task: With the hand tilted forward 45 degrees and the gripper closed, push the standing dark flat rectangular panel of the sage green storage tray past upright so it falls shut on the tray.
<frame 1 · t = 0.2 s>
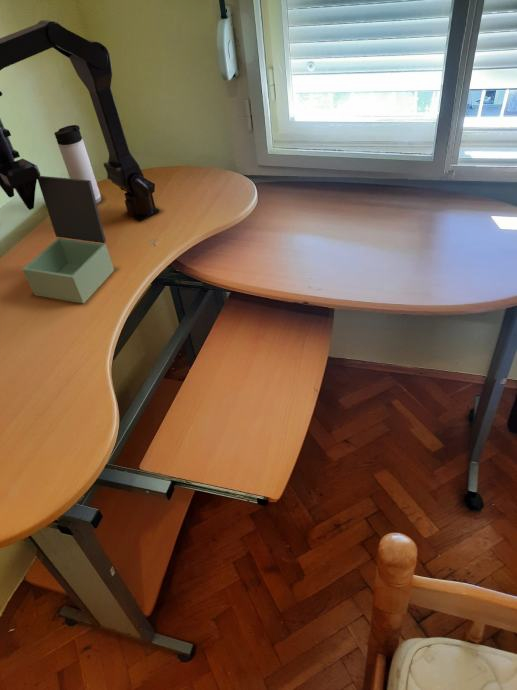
hand: (21, 202, 99), 15 cm above the table, tool pointing down, fingers open, 9 cm apart
sage green storage tray: (75, 282, 102), on the table
dark flat rectangular panel: (72, 210, 97), point 14 cm above the table, hinge at 96.0°
travel mug: (91, 201, 130), on the table
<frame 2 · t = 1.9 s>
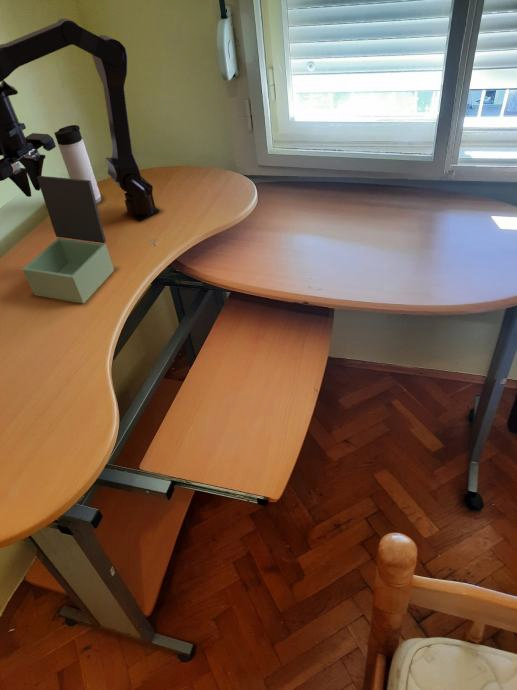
hand: (33, 193, 106), 13 cm above the table, tool pointing down, fingers open, 3 cm apart
nothing on the table moved.
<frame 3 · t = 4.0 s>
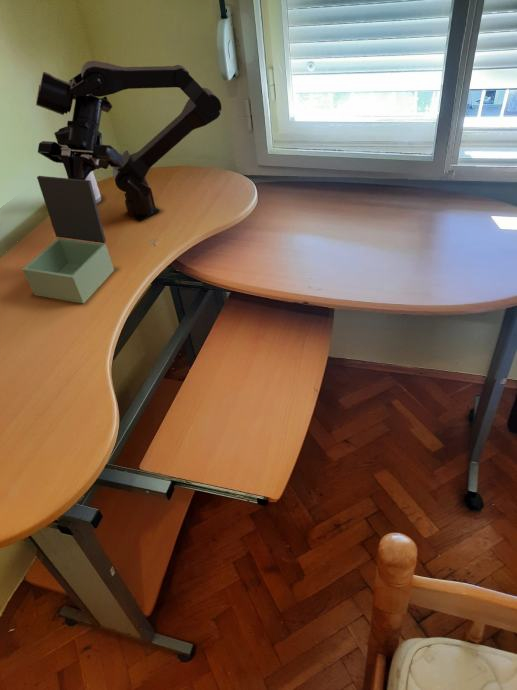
hand: (74, 192, 104), 14 cm above the table, tool tilted 45°, fingers closed
nothing on the table moved.
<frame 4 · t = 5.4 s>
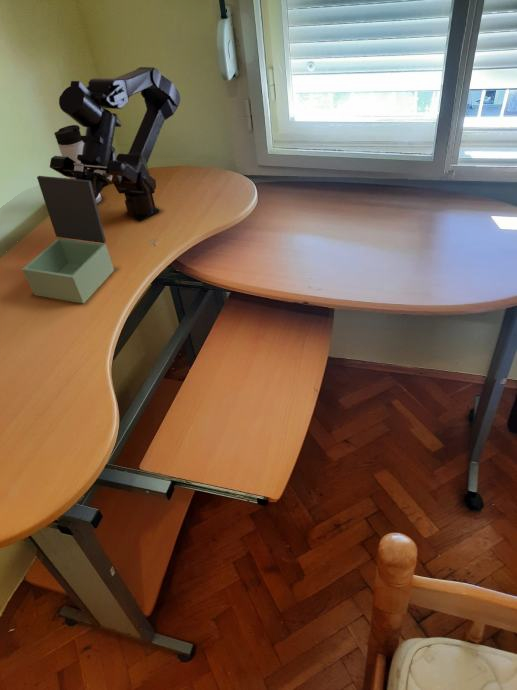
hand: (87, 208, 101), 12 cm above the table, tool tilted 45°, fingers closed
nothing on the table moved.
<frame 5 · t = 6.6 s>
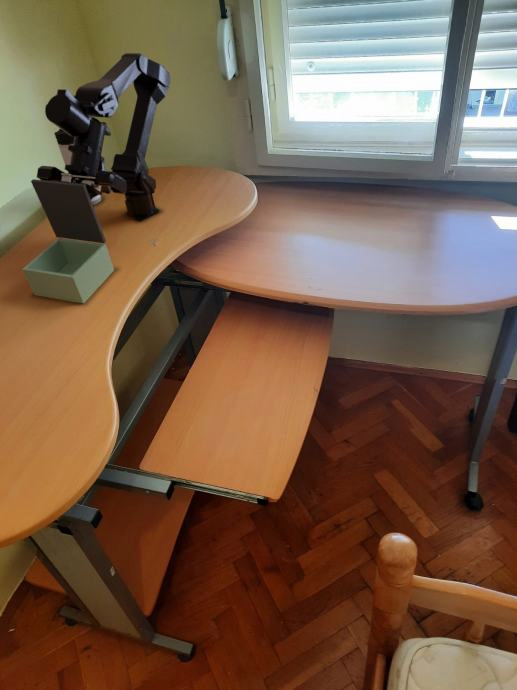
hand: (75, 219, 98), 12 cm above the table, tool tilted 45°, fingers closed, pressing on dark flat rectangular panel
dark flat rectangular panel: (69, 212, 96), point 14 cm above the table, hinge at 87.5°, touching gripper
everything else where it was.
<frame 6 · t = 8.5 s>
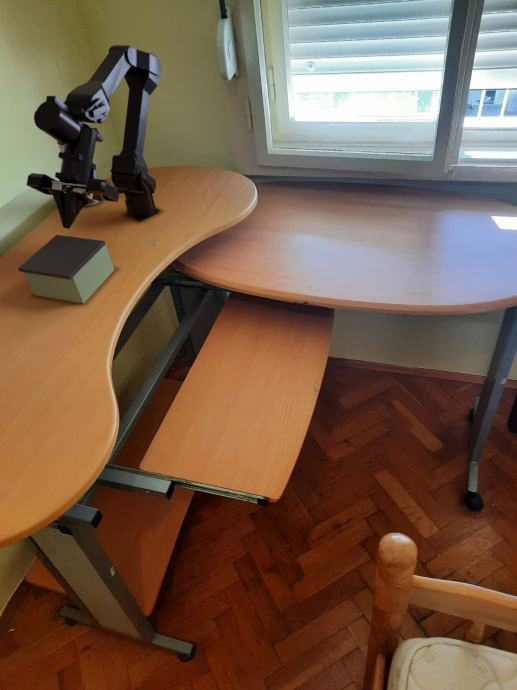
hand: (66, 228, 96), 11 cm above the table, tool tilted 45°, fingers closed
dark flat rectangular panel: (63, 255, 97), point 7 cm above the table, hinge at -0.2°
everything else where it was.
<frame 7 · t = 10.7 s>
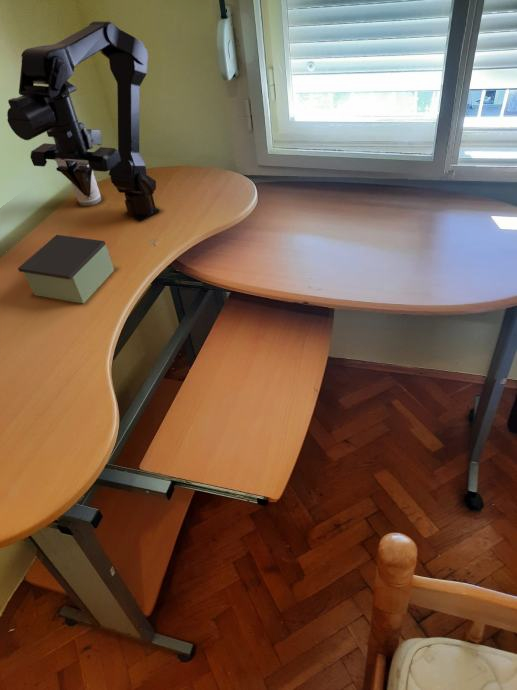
hand: (87, 195, 103), 13 cm above the table, tool pointing down, fingers closed
nothing on the table moved.
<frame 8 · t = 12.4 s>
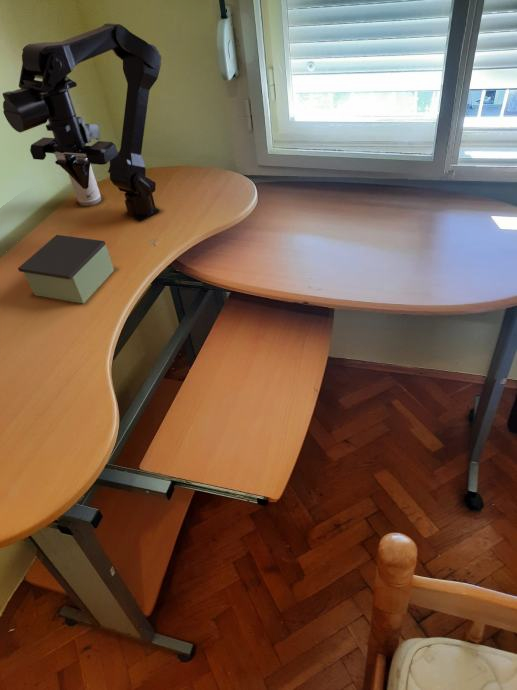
hand: (86, 188, 106), 13 cm above the table, tool pointing down, fingers closed
nothing on the table moved.
at the end: dark flat rectangular panel at +0° (first picture: +96°) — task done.
